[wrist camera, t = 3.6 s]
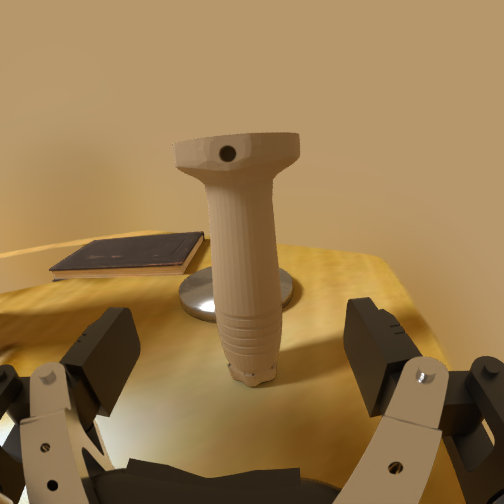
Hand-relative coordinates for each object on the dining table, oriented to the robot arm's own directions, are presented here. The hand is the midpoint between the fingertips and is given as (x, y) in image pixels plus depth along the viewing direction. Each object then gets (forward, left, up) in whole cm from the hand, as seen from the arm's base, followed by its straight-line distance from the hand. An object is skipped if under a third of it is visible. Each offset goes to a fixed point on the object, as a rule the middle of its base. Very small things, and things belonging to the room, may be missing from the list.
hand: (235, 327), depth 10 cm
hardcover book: (-36, +14, -9) cm, 39 cm away
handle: (-4, +5, -9) cm, 11 cm away
